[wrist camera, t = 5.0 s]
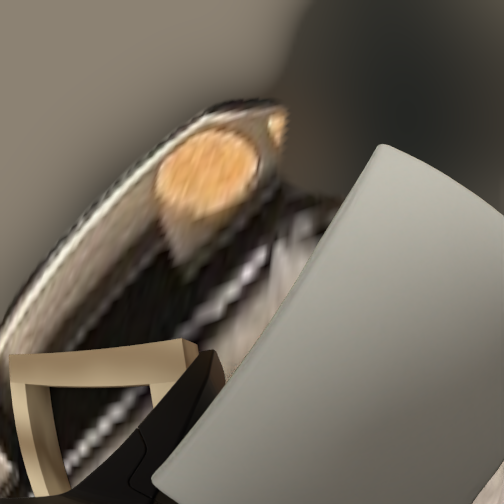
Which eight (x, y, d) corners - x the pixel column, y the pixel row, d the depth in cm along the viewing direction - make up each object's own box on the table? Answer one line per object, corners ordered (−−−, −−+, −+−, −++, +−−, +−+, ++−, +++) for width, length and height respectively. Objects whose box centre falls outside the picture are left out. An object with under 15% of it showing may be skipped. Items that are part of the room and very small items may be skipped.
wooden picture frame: (247, 551, 8) (241, 572, 6) (68, 522, 9) (49, 529, 6) (197, 344, 15) (181, 338, 12) (32, 360, 15) (8, 354, 12)
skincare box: (315, 309, 15) (381, 128, 4) (379, 347, 13) (558, 255, 2) (250, 402, 13) (131, 482, 2) (318, 443, 11) (402, 590, 1)
